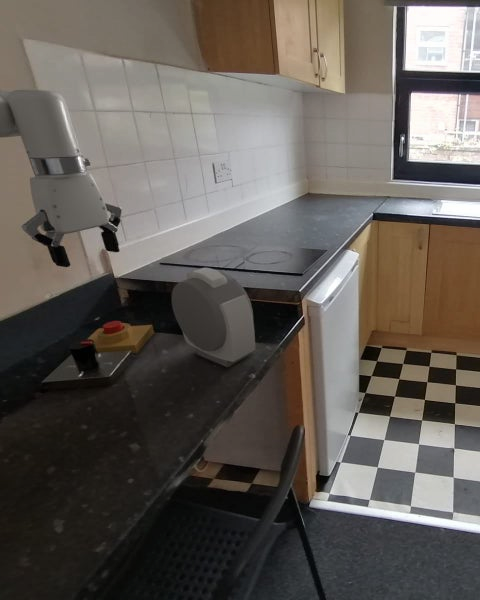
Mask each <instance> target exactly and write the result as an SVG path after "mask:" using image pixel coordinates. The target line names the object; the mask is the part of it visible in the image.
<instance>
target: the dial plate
mask: <svg viewBox="0 0 480 600" xmlns="http://www.w3.org/2000/svg"><path fill="white" fill-rule="evenodd" d="M98 355H99V358H100V361H101V363H100V364H99V365H98V366H96V367H94V368H92V369H88V370H78V369H77V367H76V364H75V361H74V359H73V356H72V354H70V355H69V356H68V357H67V358H66V359H65V360H64V361H63V362H61V363H60V364H58V366H57V367H56V368H55V369H54V370H52V372H51V373H49V375H47V377H45V378H44V379H43V380H41V385H42V387H43V389H44V391H55V390H67V389H78V388H88V387H98V386H111V385H113V384H114V383H115V382H116V380H117V379H118V378H119V377H120V376H121V374H122V373H123V372H124V371H125V370H126V368H127V367H128V365H130V363H131V362H132V361H133V360H134V354H132V351H131V350H130V351H117V352H104V353H98Z"/></svg>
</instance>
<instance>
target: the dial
mask: <svg viewBox="0 0 480 600" xmlns="http://www.w3.org/2000/svg"><path fill="white" fill-rule="evenodd" d="M68 348H69V351H70V355H72V356H73V359H74V361H75V364H76V367H77V369H78V370H88V369H92V368H94V367H96V366H98V365H99V364H100V363H101V361H100V358H99V355H98V352H97V349H96V346H95V344H94V341H93V340H91V339H88V338H85V339H79V340H77V341H74V342H72V343H71V344H70V345H69V347H68Z"/></svg>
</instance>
